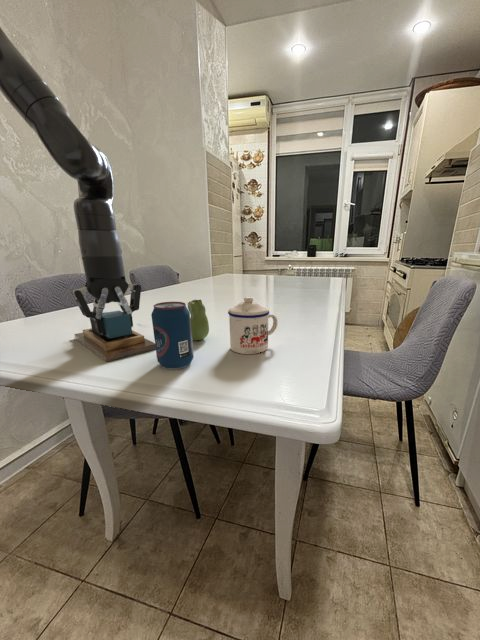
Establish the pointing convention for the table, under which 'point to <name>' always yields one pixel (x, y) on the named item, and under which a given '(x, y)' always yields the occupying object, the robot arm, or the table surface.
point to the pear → (198, 320)
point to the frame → (115, 345)
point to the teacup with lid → (250, 327)
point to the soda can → (172, 335)
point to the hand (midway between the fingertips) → (115, 331)
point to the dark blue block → (97, 332)
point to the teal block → (117, 324)
